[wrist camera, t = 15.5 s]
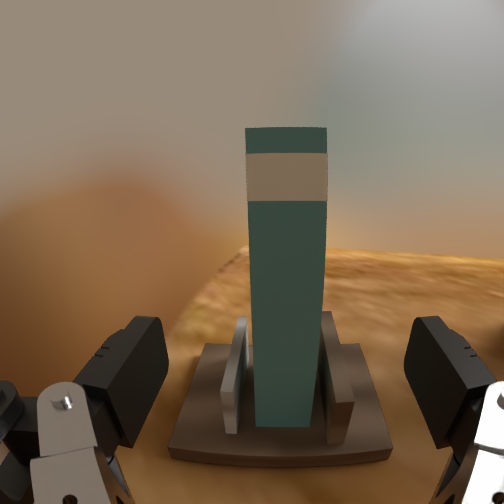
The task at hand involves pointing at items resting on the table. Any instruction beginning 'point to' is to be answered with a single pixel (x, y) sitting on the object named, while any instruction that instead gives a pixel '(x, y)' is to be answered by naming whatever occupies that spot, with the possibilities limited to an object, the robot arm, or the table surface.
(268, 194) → the book
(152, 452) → the table surface
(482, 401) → the robot arm
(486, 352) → the table surface
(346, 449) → the book rack
